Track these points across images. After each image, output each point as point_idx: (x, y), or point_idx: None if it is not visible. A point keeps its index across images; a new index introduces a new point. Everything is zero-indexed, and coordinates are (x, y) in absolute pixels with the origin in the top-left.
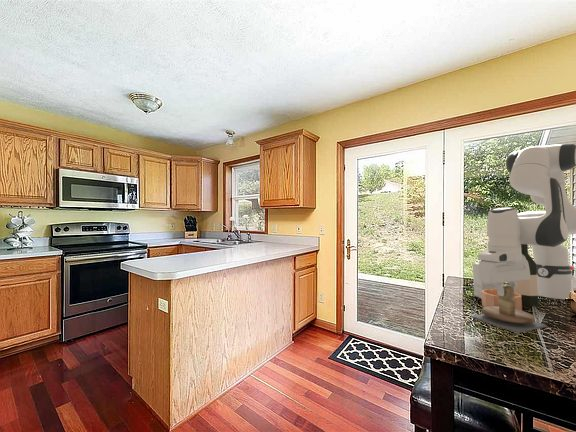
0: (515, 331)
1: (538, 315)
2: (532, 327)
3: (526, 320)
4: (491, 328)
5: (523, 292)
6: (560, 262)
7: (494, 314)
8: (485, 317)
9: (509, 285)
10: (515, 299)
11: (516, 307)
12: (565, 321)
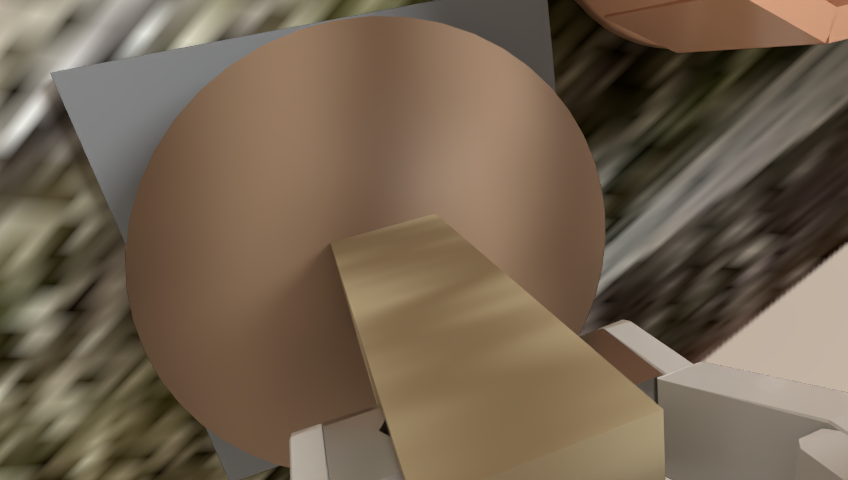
0: (226, 467)
1: (778, 121)
2: None
3: None
4: (66, 386)
5: None
6: None
7: (184, 327)
8: None
9: (749, 423)
10: (800, 43)
11: (715, 50)
12: (795, 258)
